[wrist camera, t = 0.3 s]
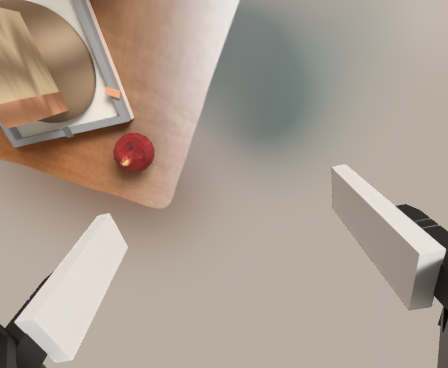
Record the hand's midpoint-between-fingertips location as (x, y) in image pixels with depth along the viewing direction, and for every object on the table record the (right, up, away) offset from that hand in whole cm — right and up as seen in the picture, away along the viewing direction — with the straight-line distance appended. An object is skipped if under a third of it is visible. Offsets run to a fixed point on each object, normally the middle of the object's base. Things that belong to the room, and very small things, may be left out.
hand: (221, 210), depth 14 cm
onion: (-14, +8, +26) cm, 31 cm away
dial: (-25, +18, +19) cm, 37 cm away
